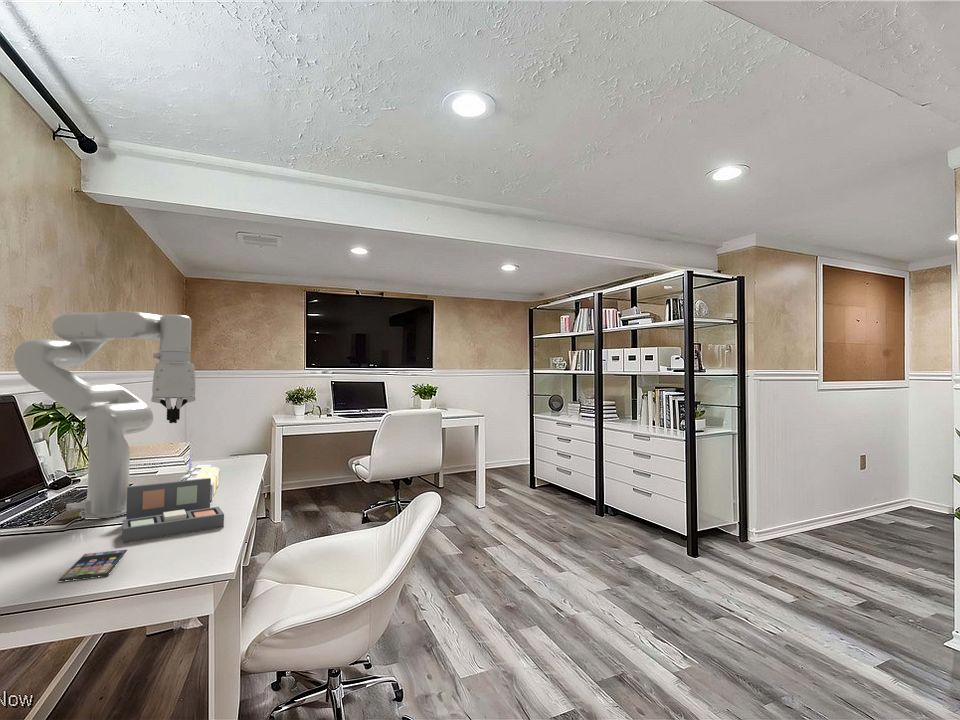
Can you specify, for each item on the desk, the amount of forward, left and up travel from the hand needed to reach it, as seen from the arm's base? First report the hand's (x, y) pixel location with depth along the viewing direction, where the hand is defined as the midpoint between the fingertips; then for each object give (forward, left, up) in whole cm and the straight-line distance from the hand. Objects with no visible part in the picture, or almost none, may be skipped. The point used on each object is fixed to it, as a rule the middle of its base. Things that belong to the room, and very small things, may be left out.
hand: (172, 422), depth 138 cm
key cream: (0, -12, -25) cm, 28 cm away
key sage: (-7, -12, -26) cm, 30 cm away
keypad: (0, -7, -27) cm, 28 cm away
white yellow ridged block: (+10, +23, -28) cm, 37 cm away
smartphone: (-16, -28, -28) cm, 43 cm away
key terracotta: (+7, -12, -26) cm, 30 cm away
